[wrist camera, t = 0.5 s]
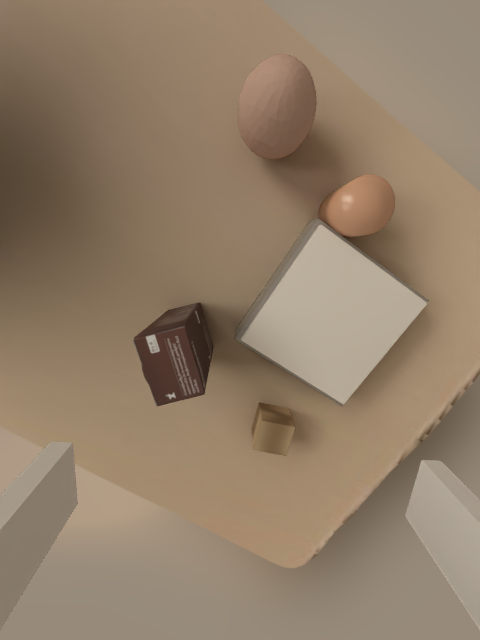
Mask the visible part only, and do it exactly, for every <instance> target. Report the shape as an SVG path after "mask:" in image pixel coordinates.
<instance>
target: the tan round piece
mask: <svg viewBox="0 0 480 640" xmlns="http://www.w3.org/2000/svg"><path fill="white" fill-rule="evenodd" d="M394 207H395V196H394V192H393V190H392V187H391V186H390V184H389V183H388V182H387V181H386V180H385V179H383V178H382V177H380V176H377V175H363V176H360V177H357V178H356V179H354V180H352V181H351V182H349V183H348V184H346V185H344V186H343V187H341V188H340V189H338V190H336V191H335V192H333V193H332V194H330V195H329V196H327V197H326V198H325V200H324V201H323V202H322V204H321V206H320V209H319V213H318V218H319V219H320V220H321V221H323V222H324V223H325V224H327V225H328V226H329V227H331V228H332V229H333V230H335V231H336V232H337V233H339V234H340V235H341V236H343V237H344V238H349V237H356V236H363V235H369V234H373V233H375V232H377V231H379V230H380V229H382V228H383V227H384V226H385V225H386V224H387V223H388V221H389V220H390V218H391V216H392V214H393V211H394Z"/></svg>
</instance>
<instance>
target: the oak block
mask: <svg viewBox="0 0 480 640" xmlns="http://www.w3.org/2000/svg"><path fill="white" fill-rule="evenodd" d="M294 430H295V425H294V422H293V419H292V416H291V413H290V411H289V409H288V408H283V407H278V406H273V405H269V404H264V403H259V405H258V409H257V412H256V416H255V419H254V423H253V426H252V437H253V447H254V450H258V451H263V452H268V453H273V454H279V455H284V456H286V455H287V452H288V448H289V445H290V442H291V439H292V436H293V433H294Z"/></svg>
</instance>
